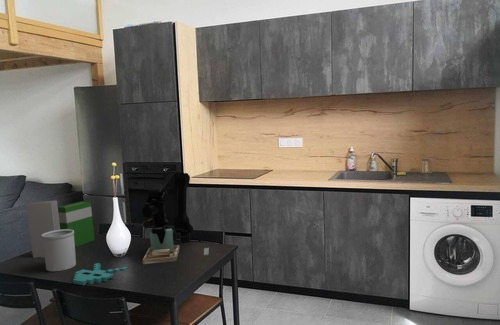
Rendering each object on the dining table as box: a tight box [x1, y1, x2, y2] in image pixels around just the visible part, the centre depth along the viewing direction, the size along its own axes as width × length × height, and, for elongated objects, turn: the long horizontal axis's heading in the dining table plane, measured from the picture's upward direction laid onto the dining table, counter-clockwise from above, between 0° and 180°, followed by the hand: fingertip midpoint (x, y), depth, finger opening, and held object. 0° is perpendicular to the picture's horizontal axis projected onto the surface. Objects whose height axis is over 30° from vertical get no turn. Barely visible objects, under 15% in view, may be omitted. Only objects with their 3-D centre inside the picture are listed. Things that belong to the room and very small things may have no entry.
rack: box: [142, 244, 181, 265], centre depth 213 cm, size 20×16×3 cm
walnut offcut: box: [148, 253, 170, 259], centre depth 208 cm, size 4×10×2 cm, turn 100°
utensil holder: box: [41, 229, 77, 272], centre depth 210 cm, size 15×15×18 cm
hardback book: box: [57, 200, 96, 248], centre depth 251 cm, size 18×7×24 cm, turn 150°
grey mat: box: [202, 247, 210, 256], centre depth 218 cm, size 11×13×1 cm
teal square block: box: [149, 228, 174, 252], centre depth 217 cm, size 3×11×11 cm, turn 95°
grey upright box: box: [26, 200, 60, 259], centre depth 230 cm, size 14×6×30 cm, turn 84°
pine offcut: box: [152, 249, 170, 256], centre depth 208 cm, size 4×8×2 cm, turn 91°
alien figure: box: [72, 262, 129, 286], centre depth 194 cm, size 20×2×20 cm
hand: (162, 242), depth 217 cm, fingers closed on teal square block, 3 cm apart
